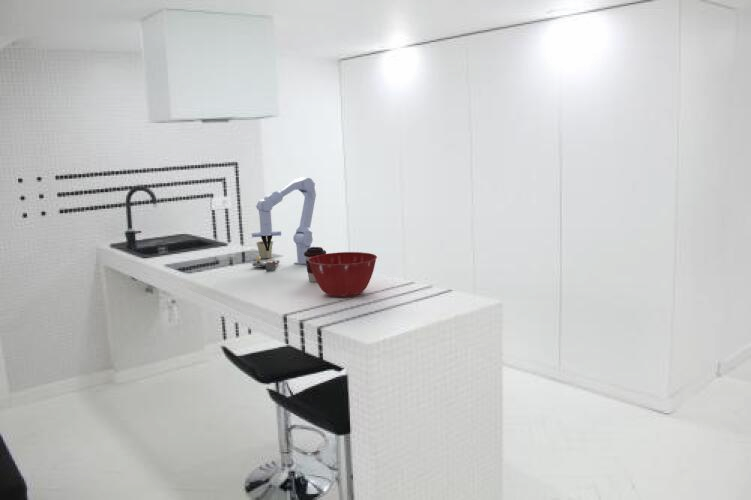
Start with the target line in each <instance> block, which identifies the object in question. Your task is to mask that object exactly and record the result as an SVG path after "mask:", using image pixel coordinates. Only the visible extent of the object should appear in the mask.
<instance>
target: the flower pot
mask: <svg viewBox="0 0 751 500" xmlns="http://www.w3.org/2000/svg"><path fill="white" fill-rule="evenodd" d="M255 244H256V246H257V249H258V253H259V254H258V255H259V256H260V260H266V259H271V258H272V253H273V245H274V241H272V240H271V242H270V246H269V251H266V247H265V245H264V242H263V241H262V240H261V241H257V242H255ZM267 247H268V243H267Z"/></svg>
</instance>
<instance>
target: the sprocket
mask: <svg viewBox="0 0 751 500" xmlns="http://www.w3.org/2000/svg"><path fill="white" fill-rule="evenodd" d="M268 261H275V265H276V266H278V265H279V263H280V260H279V259H277V260H275V259H271V258H270V259H261V258H260V255H259V256H256V260H255V261H253V263H252V264H251V265H252V267H258V268H263V267H264V266H266V262H268Z"/></svg>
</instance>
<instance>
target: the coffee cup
mask: <svg viewBox="0 0 751 500" xmlns="http://www.w3.org/2000/svg"><path fill="white" fill-rule="evenodd" d="M322 254H327V250H324V248H323V247H320V246H314V247H312V248H308V249H307V251H306V252H304V256H306V264H305V265H306V272H307V277H308V281H309V282H311V283H317V281H316V279H315V277H314V275H313V272H312V270H311V267H310V264H309V262H308V259H309V258H311V257H314V256H317V255H322Z"/></svg>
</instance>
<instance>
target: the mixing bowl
mask: <svg viewBox="0 0 751 500" xmlns="http://www.w3.org/2000/svg"><path fill="white" fill-rule="evenodd" d="M377 259H378V256H377V255H376V254H373V253H369V252H362V251H361V252H358V251H356V252H355V251H346V252H345V251H344V252H343V251H342V252H340V251H339V252H330V253H326V254H322V255H317V256H314V257H311V258H309V259H308V262H309V264H310V267H311V270H312V272H313V275H314V277H315V279H316V281H317V282H316V283H317V285H318V286H319V288H320V290H321V291H322V292H323V293H325V294H326V295H327V296H329V297H333V298H350V297H355V296H358V295H360V294H361V293H362V292H364V291H365V290H366V289H367V288H368V286H369V284H370V281H371V280H372V276H373V273H374V271H375V270H374V269H375V266H376V262H377V261H376V260H377Z"/></svg>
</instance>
